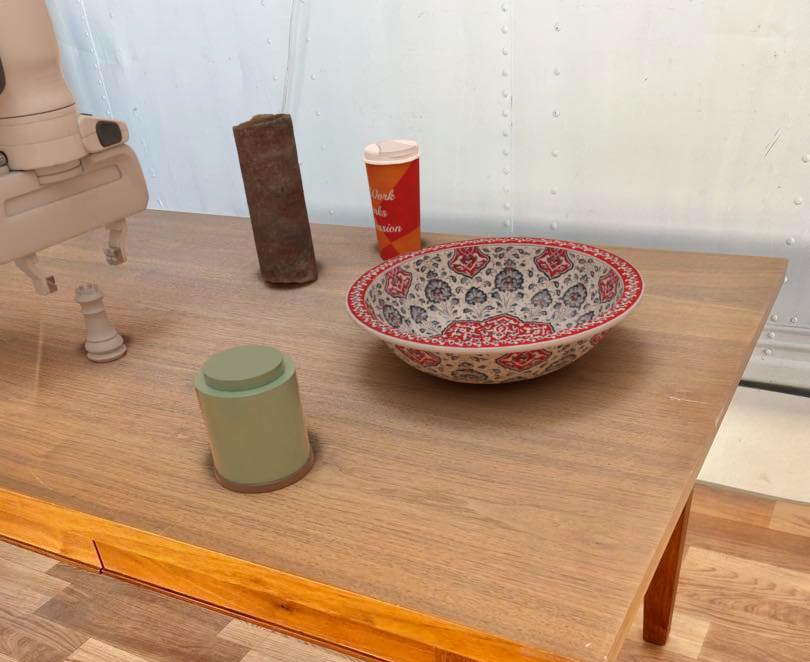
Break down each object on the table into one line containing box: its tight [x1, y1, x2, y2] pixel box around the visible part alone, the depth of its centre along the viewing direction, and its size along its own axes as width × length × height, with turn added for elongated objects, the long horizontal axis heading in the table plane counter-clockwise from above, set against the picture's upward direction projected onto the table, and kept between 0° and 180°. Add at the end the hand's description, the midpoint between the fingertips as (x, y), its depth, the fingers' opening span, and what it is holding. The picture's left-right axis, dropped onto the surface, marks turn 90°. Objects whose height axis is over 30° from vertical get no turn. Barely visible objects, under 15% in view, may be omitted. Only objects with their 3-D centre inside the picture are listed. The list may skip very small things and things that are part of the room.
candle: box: [232, 113, 319, 284], centre depth 106 cm, size 8×7×20 cm
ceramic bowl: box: [344, 236, 646, 385], centre depth 86 cm, size 29×29×8 cm
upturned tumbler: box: [193, 344, 315, 494], centre depth 72 cm, size 9×9×10 cm
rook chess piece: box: [73, 282, 127, 363], centre depth 95 cm, size 4×4×8 cm
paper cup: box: [361, 139, 423, 261], centre depth 112 cm, size 8×8×14 cm
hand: (84, 277), depth 92 cm, fingers open, 8 cm apart
